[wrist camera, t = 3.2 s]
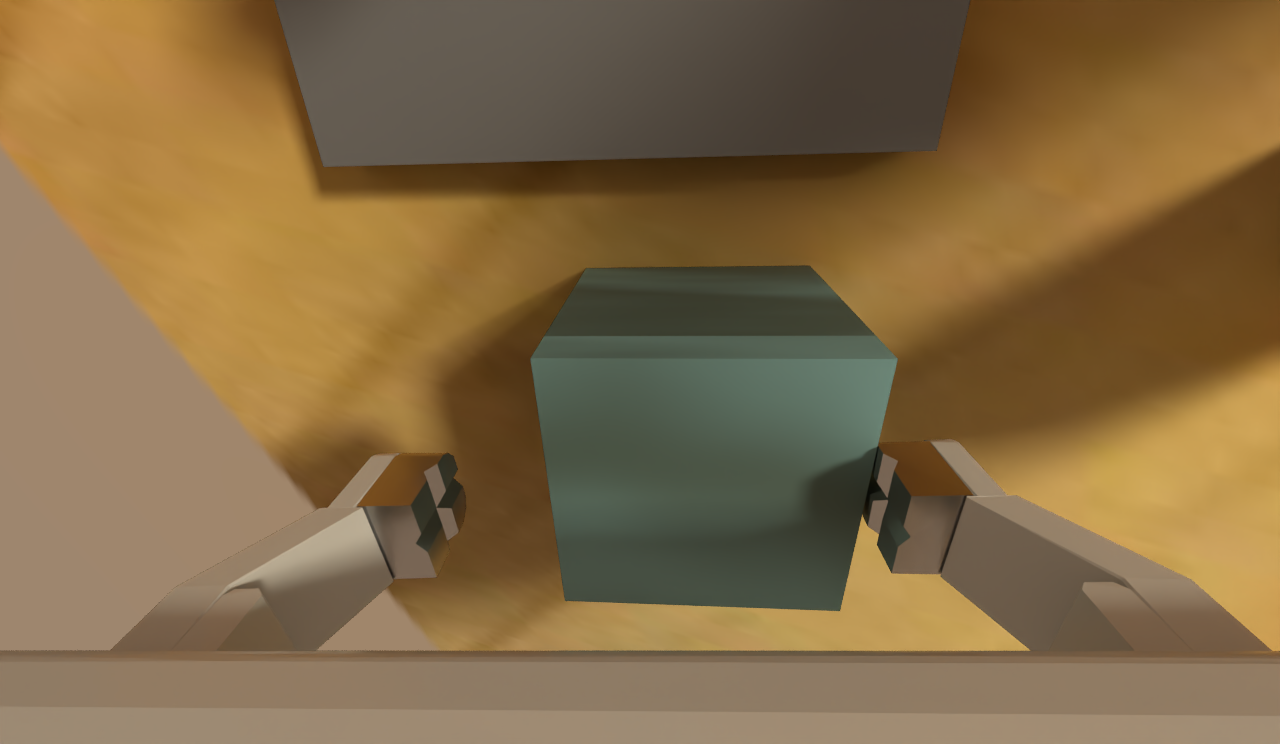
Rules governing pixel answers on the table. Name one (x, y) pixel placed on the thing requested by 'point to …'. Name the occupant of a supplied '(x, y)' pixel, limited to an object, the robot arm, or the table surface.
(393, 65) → the post block
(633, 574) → the sage green cube
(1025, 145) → the table surface
